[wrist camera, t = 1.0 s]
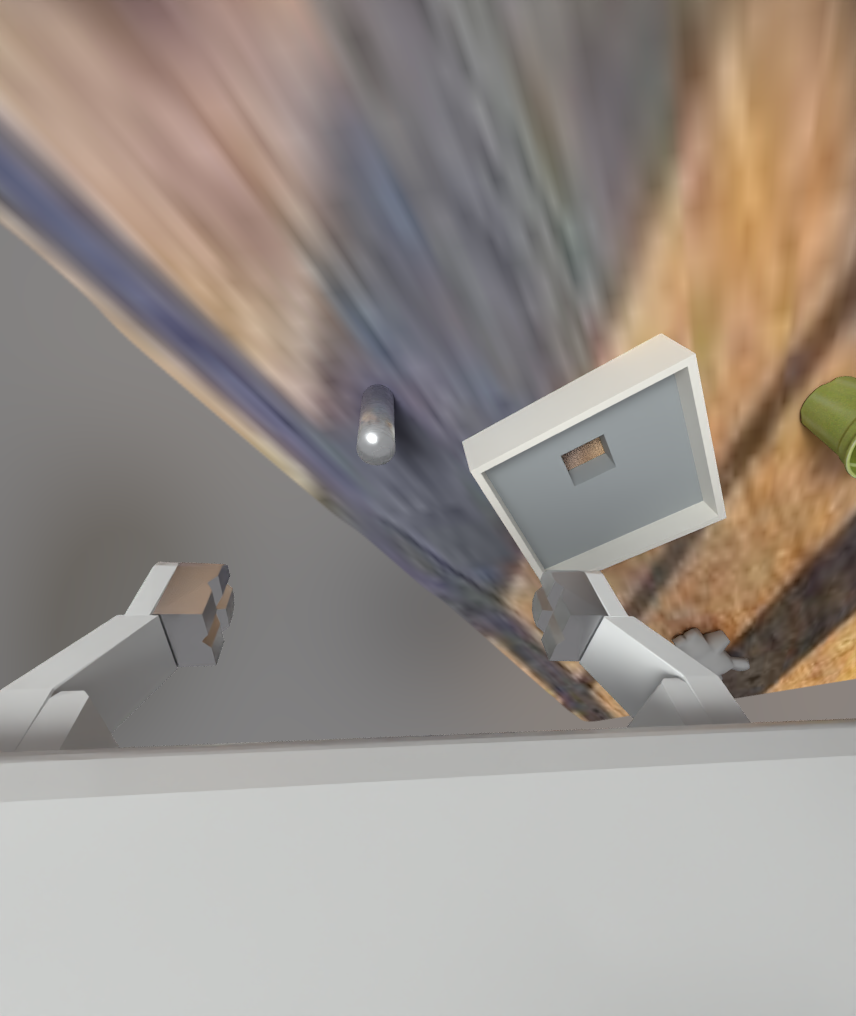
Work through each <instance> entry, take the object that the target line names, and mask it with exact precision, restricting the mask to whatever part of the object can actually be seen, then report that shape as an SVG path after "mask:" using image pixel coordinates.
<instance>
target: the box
mask: <svg viewBox="0 0 856 1016" xmlns="http://www.w3.org/2000/svg"><path fill="white" fill-rule="evenodd" d="M597 437H599V438H600V440H601V443H602V446H603V448H604V451H605V453H604V454H602V455H600V456H598V457H596V458H594V459H592V460H590V461H588V462H586V463H584V464H582V465H580V466H577V467H575V468H573V469H571V470H569V471H567V469H566V466H565V464H564V462H563V460H562V458H561V455H563V454H565V453H567V452H569V451H571V450H573V449H575V448H577V447H579V446H581V445H583V444H585V443H587V442H589V441H591V440H593V439H595V438H597ZM462 444H463V447H464V451H465V454H466V458H467V462H468V465H469V469H470V472H471V473H472V475H473V477H474V478H475V480H476V481H477V483H478V484H479V486H480V487H481V489H482V491H483V492H484V494H485V495H486V497H487V498H488V500H489V501H490V503H491V505H492V506H493V508H494V509H495V511H496V512H497V514H498V516H499V517H500V519H501V520H502V522H503V523H504V525H505V526H506V528H507V530H508V531H509V533H510V534H511V536H512V537H513V539H514V540H515V542H516V544H517V545H518V547H519V548H520V550H521V551H522V553H523V554H524V556H525V558H526V559H527V561H528V562H529V564H530V565H531V567H532V569H533V570H534V572H535V573H536V575H537V576H538V578H539V579H541V576H542V574H543V573H544V572H545V571H546V570H577V571H581V570H591V571H600V570H603V569H605V568H608V567H610V566H612V565H615V564H617V563H620V562H622V561H624V560H627V559H629V558H632V557H634V556H636V555H639V554H641V553H644V552H646V551H648V550H651V549H653V548H655V547H658V546H660V545H663V544H665V543H667V542H670V541H672V540H675V539H677V538H679V537H682V536H684V535H687V534H689V533H691V532H694V531H696V530H699V529H701V528H703V527H706V526H708V525H711V524H713V523H715V522H718V521H720V520H722V519H725V518H726V513H725V507H724V502H723V497H722V491H721V486H720V481H719V476H718V470H717V465H716V460H715V454H714V449H713V444H712V439H711V433H710V428H709V423H708V417H707V412H706V407H705V402H704V396H703V391H702V386H701V380H700V375H699V370H698V365H697V359H696V354H695V353H694V352H692V351H690V350H688V349H687V348H685V347H683V346H682V345H680V344H678V343H677V342H675V341H673V340H672V339H670V338H668V337H666V336H665V335H663V334H661V333H660V334H659V335H657V336H655V337H653V338H651V339H649V340H648V341H646V342H644V343H642V344H640V345H638V346H637V347H635V348H633V349H631V350H629V351H627V352H626V353H624V354H622V355H620V356H618V357H616V358H615V359H613V360H611V361H609V362H607V363H605V364H604V365H602V366H600V367H598V368H596V369H594V370H593V371H591V372H589V373H587V374H585V375H583V376H582V377H580V378H578V379H576V380H574V381H572V382H571V383H569V384H567V385H565V386H563V387H561V388H560V389H558V390H556V391H554V392H552V393H550V394H549V395H547V396H545V397H543V398H541V399H539V400H538V401H536V402H534V403H532V404H530V405H528V406H527V407H525V408H523V409H521V410H519V411H517V412H516V413H514V414H512V415H510V416H508V417H506V418H505V419H503V420H501V421H499V422H497V423H495V424H494V425H492V426H490V427H488V428H486V429H484V430H483V431H481V432H479V433H477V434H475V435H473V436H472V437H470V438H468V439H466V440H464V441H462Z"/></svg>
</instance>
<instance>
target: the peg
mask: <svg viewBox="0 0 856 1016" xmlns="http://www.w3.org/2000/svg"><path fill="white" fill-rule="evenodd" d="M357 453H358V455H359V457H360V458H361V459H362V460H363V461H364V462H366V463H368V464H371V465H382V464H385V463H387V462H389V461H390V460H391V459H392V457H393V456H394V453H395V427H394V397H393V394H392V392H391V391H390V390H389V389H388V388H387V387H385V386H383V385H372V386H370V387H368V388H367V389H366V390H365V391H364V393H363V396H362V404H361V413H360V422H359V431H358V440H357Z"/></svg>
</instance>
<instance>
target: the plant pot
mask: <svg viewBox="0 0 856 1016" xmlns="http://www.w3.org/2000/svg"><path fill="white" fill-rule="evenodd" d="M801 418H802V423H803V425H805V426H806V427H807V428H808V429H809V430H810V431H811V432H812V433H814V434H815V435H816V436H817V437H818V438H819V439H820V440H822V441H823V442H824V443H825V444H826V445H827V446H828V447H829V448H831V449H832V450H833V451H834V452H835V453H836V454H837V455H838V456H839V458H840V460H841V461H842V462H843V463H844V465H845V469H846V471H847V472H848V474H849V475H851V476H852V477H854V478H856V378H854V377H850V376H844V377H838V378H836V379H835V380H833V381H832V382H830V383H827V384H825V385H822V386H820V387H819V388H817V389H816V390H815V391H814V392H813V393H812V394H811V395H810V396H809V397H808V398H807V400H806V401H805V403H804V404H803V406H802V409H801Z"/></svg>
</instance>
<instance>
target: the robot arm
mask: <svg viewBox="0 0 856 1016" xmlns="http://www.w3.org/2000/svg"><path fill="white" fill-rule="evenodd" d="M229 577H230V574H229V569H228V566H227V565H225V564H205V563H172V562H159V563H157V564H156V565H154V566H153V568H152V569H151V571H150V573H149V575H148V576H147V578H146V580H145V581H144V583H143V585H142V586H141V588H140V590H139V592H138V593H137V595H136V597H135V598H134V600H133V602H132V603H131V605H130V607H129V608H128V610H127V612H126V613H125V615H117V616H115V617H114V618H112V619H111V620H109V621H107V622H106V623H104V624H103V625H101V626H100V627H98V628H97V629H95V630H94V631H92V632H90V633H89V634H87V635H86V636H84V637H83V638H81V639H79V640H78V641H76V642H75V643H73V644H72V645H70V646H68V647H67V648H65V649H64V650H62V651H61V652H59V653H58V654H56V655H54V656H53V657H51V658H50V659H48V660H47V661H45V662H44V663H42V664H40V665H39V666H37V667H36V668H34V669H33V670H31V671H29V672H28V673H26V674H25V675H23V676H22V677H20V678H19V679H17V680H15V681H14V682H12V683H11V684H9V685H8V686H6V687H5V688H3V689H1V690H0V1016H856V719H833V720H812V721H811V720H808V721H783V722H758V723H751V722H750V721H749V719H748V718H747V717H746V715H745V714H744V712H743V711H742V710H741V708H740V707H739V705H738V704H737V703H736V701H735V699H734V698H733V697H732V695H731V694H730V692H729V691H728V690H727V688H726V687H725V685H724V684H723V682H722V681H721V680H720V678H719V677H718V676H717V675H716V674H714V673H713V672H711V671H710V670H709V669H707V668H706V667H704V666H703V665H702V664H700V663H699V662H697V661H696V660H694V659H693V658H692V657H690V656H689V655H687V654H686V653H685V652H683V651H682V650H680V649H679V648H677V647H676V646H675V645H673V644H672V643H670V642H669V641H668V640H666V639H665V638H663V637H662V636H660V635H659V634H658V633H656V632H655V631H653V630H652V629H651V628H649V627H648V626H646V625H645V624H643V623H642V622H641V621H639V620H638V619H636V618H635V617H634V616H628V615H627V613H626V612H625V610H624V608H623V607H622V605H621V603H620V602H619V600H618V598H617V597H616V595H615V593H614V592H613V590H612V588H611V587H610V585H609V583H608V582H607V580H606V578H605V577H604V575H603V574H602V573H601V572H600V571H591V570H581V571H577V570H546V571H545V572H544V573H543V574H542V576H541V579H540V582H541V584H542V587H541V588H540V589H539V590H537V591H536V592H535V595H534V598H533V604H532V612H533V618H534V621H535V624H536V626H537V627H538V628H539V629H541V630H542V631H543V632H544V634H543V637H542V639H541V640H542V643H543V645H544V648H545V651H546V653H547V656H548V659H549V661H580V662H579V663H580V664H581V665H582V666H583V667H584V668H585V669H586V670H587V671H588V672H589V673H590V674H591V675H592V676H593V677H594V679H595V680H596V681H597V682H598V683H599V684H600V685H601V686H602V687H603V688H604V689H605V690H606V691H607V692H608V693H609V694H610V695H611V696H612V697H613V698H614V699H615V700H616V701H617V702H618V703H619V704H620V705H621V706H622V707H623V708H624V709H625V710H626V711H627V713H628V714H629V715H630V716H631V717H632V718H633V720H632V721H631V723H630V724H629V725H628V726H627V728H605V729H581V730H557V731H556V730H554V731H531V732H530V731H529V732H504V733H479V734H454V735H429V736H403V737H378V738H353V739H329V740H302V741H277V742H252V743H226V744H202V745H201V744H200V745H176V746H151V747H150V746H149V747H124V748H119V746H118V744H117V743H116V741H115V739H114V738H113V736H112V734H111V733H112V732H113V731H114V730H116V729H117V728H118V726H119V725H121V724H122V723H123V722H124V721H125V720H126V719H127V718H128V717H129V716H130V715H131V714H132V713H133V712H134V711H135V710H136V709H137V708H138V707H139V706H140V705H141V704H142V703H143V702H144V701H145V700H146V699H147V698H148V697H149V696H150V695H151V694H152V693H153V692H155V691H156V690H157V689H158V688H159V687H160V686H161V685H162V684H163V683H164V682H165V681H166V680H167V679H168V678H169V677H170V676H171V675H172V674H173V673H174V672H175V671H176V670H177V667H187V666H213V665H216V664H217V662H218V659H219V656H220V653H221V650H222V647H223V643H224V638H223V634H222V632H223V631H224V630H225V629H227V628H228V627H229V626H230V622H231V620H232V616H233V610H234V593H233V588H231V587H230V586H229V585H228V584H227V583H228V580H229Z"/></svg>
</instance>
